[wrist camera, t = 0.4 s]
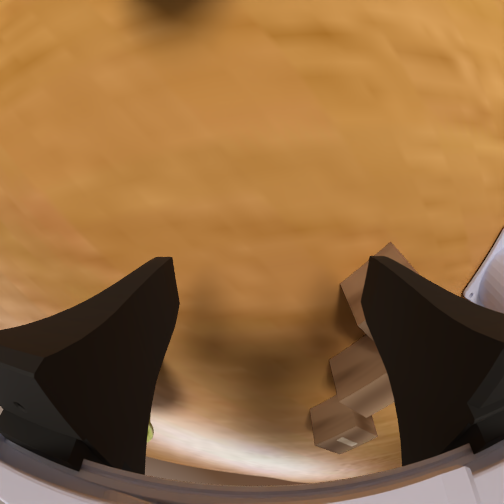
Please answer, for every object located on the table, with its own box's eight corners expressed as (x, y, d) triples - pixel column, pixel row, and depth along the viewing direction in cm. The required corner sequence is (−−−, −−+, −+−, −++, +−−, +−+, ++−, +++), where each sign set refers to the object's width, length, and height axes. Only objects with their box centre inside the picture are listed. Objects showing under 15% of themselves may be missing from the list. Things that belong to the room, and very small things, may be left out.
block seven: (417, 280, 22) (445, 318, 17) (371, 317, 23) (391, 359, 19) (390, 241, 20) (421, 277, 16) (339, 283, 22) (358, 326, 17)
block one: (367, 402, 29) (377, 437, 25) (333, 420, 31) (340, 455, 26) (346, 388, 28) (356, 426, 23) (309, 408, 29) (314, 446, 25)
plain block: (395, 352, 26) (412, 390, 21) (355, 379, 27) (366, 417, 23) (372, 329, 24) (390, 370, 19) (328, 359, 26) (338, 401, 21)
